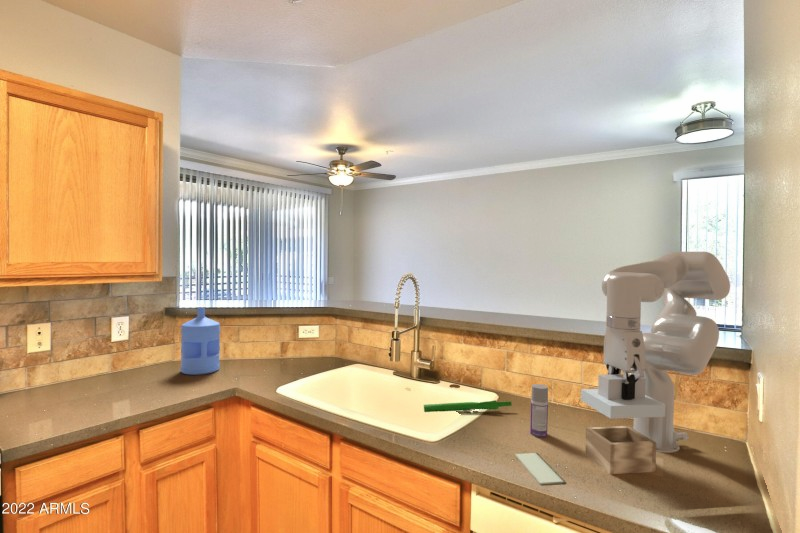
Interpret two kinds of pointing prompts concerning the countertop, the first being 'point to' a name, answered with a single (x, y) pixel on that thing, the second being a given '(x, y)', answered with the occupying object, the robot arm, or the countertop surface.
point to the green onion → (465, 406)
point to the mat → (539, 468)
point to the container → (539, 410)
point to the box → (620, 449)
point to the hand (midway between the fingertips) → (621, 394)
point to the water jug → (200, 345)
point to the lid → (612, 403)
